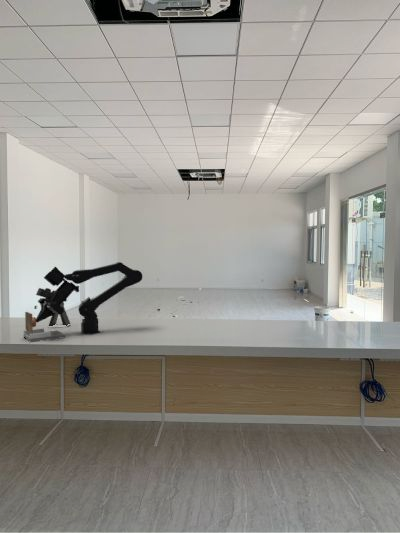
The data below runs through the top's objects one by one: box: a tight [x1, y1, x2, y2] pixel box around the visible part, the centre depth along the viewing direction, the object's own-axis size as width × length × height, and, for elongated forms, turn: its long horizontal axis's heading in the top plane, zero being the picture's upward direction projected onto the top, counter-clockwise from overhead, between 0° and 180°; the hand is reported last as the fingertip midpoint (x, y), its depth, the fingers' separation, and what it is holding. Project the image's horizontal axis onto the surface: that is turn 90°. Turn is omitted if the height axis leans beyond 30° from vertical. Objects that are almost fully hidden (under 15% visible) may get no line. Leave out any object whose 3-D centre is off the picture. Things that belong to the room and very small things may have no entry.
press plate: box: [24, 311, 37, 333], centre depth 164 cm, size 3×8×8 cm, turn 37°
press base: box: [23, 328, 66, 343], centre depth 167 cm, size 14×11×3 cm
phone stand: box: [48, 301, 71, 326], centre depth 192 cm, size 9×6×12 cm, turn 92°
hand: (36, 321), depth 165 cm, fingers closed
